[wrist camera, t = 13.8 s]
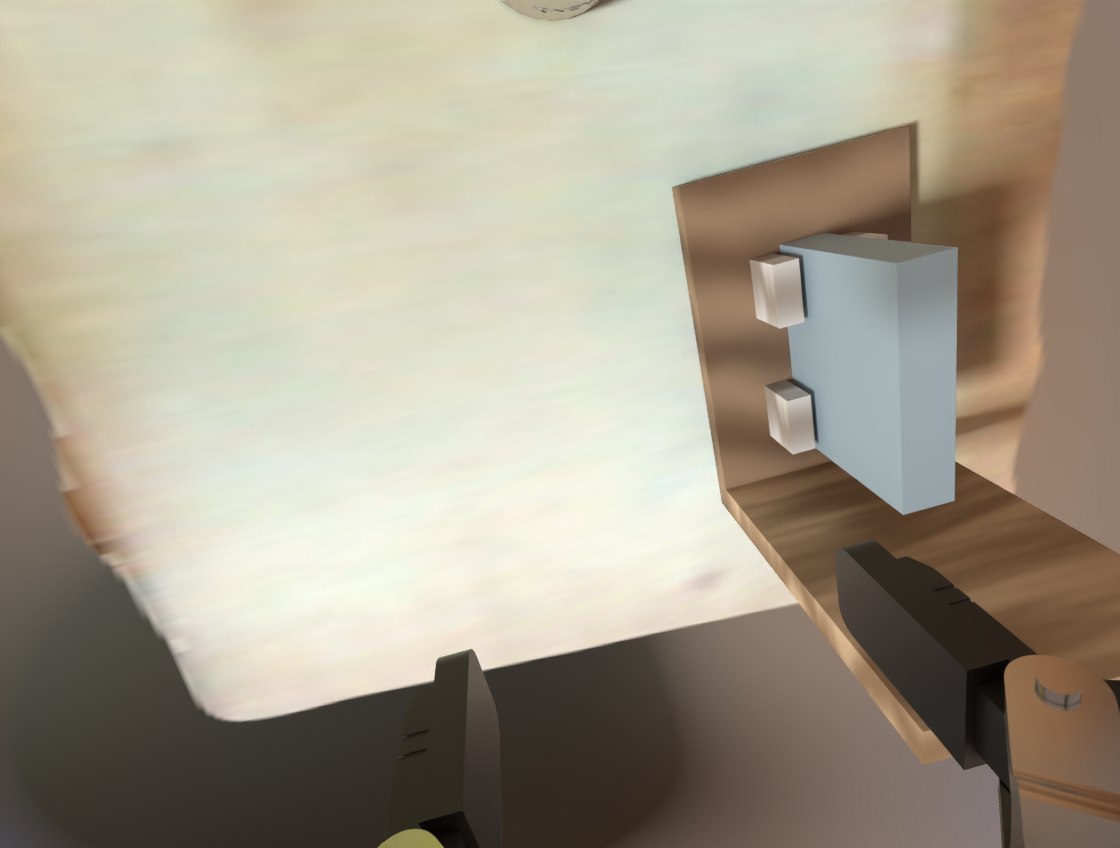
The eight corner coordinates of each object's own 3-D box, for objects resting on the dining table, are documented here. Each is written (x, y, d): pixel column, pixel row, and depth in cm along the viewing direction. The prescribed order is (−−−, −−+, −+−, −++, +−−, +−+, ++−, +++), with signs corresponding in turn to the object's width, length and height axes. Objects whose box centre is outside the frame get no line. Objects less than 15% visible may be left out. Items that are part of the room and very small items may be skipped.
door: (779, 244, 39) (896, 263, 28) (834, 229, 39) (973, 242, 28) (798, 434, 44) (903, 515, 33) (847, 421, 44) (968, 496, 33)
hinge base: (672, 187, 38) (916, 173, 16) (894, 128, 38) (1424, 38, 17) (722, 502, 47) (923, 764, 25) (902, 453, 47) (1254, 671, 26)
